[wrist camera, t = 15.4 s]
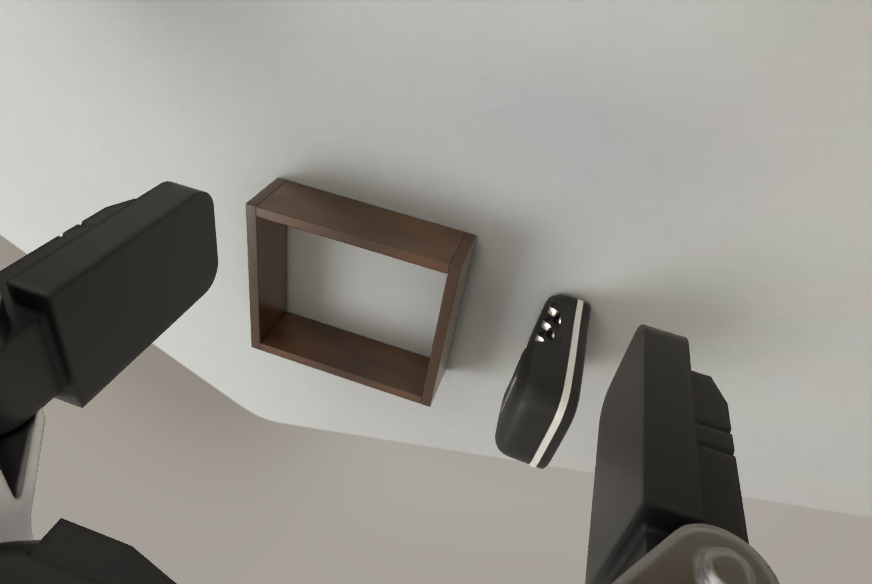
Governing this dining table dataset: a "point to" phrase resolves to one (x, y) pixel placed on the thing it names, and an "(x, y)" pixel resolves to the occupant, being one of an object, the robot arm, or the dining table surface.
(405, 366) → the walnut box
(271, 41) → the dining table surface
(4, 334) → the robot arm
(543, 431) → the battery charger
